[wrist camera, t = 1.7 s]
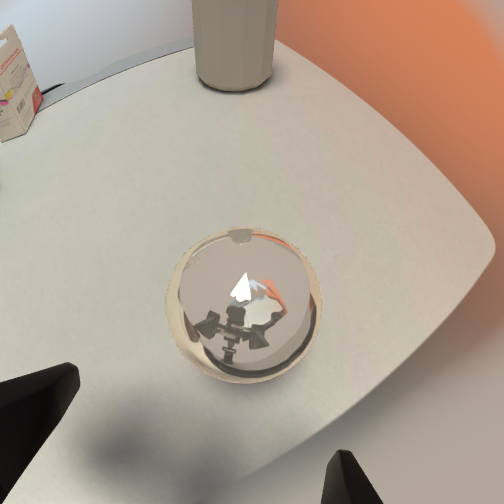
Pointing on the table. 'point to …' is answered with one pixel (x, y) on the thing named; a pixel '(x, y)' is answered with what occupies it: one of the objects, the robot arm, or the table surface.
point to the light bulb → (243, 305)
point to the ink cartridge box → (16, 88)
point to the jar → (234, 42)
